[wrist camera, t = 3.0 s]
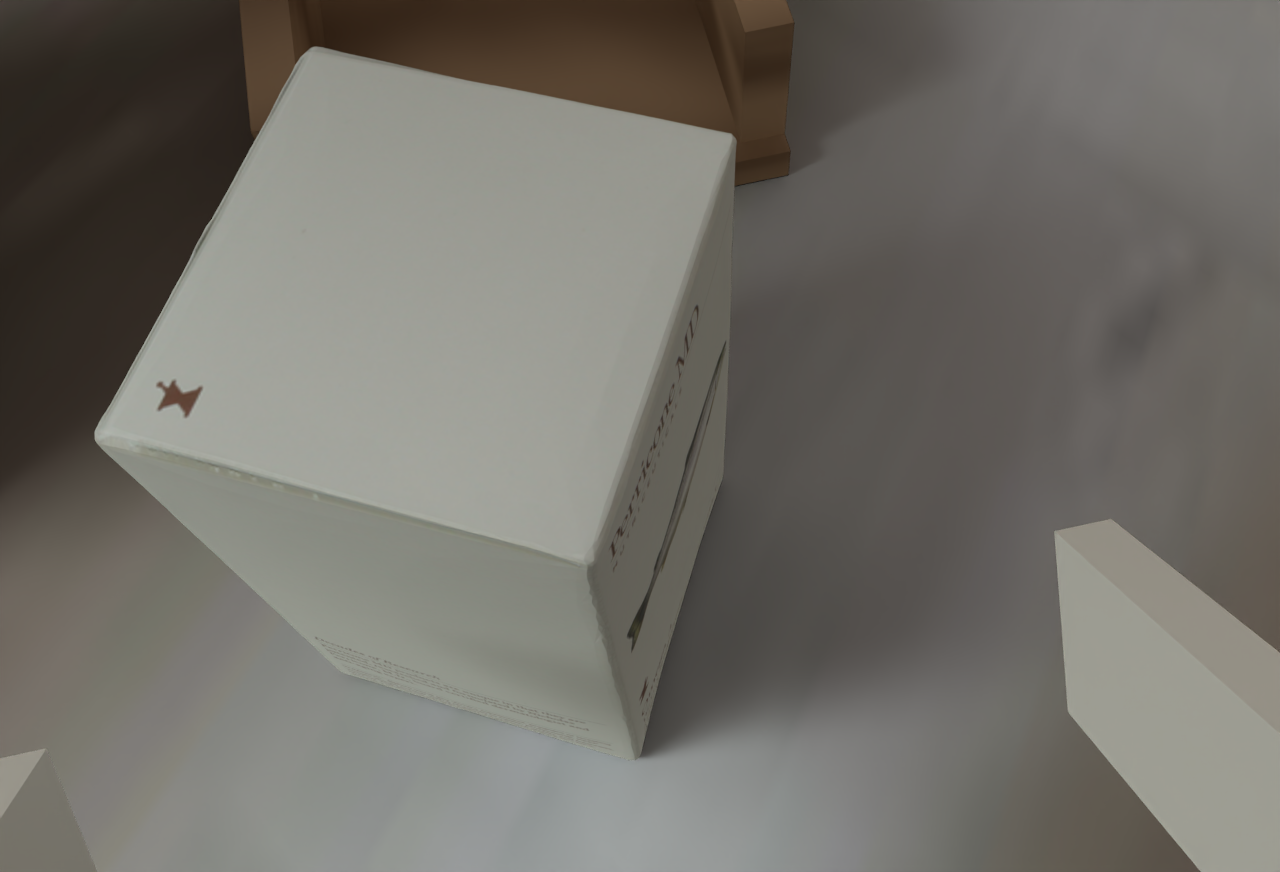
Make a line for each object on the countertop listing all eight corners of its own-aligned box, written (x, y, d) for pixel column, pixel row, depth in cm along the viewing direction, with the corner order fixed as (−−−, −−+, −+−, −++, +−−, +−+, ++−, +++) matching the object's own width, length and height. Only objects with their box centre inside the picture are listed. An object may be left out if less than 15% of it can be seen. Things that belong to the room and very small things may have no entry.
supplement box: (642, 772, 26) (591, 590, 14) (333, 675, 27) (61, 436, 16) (734, 473, 29) (751, 125, 17) (451, 398, 30) (295, 28, 19)
